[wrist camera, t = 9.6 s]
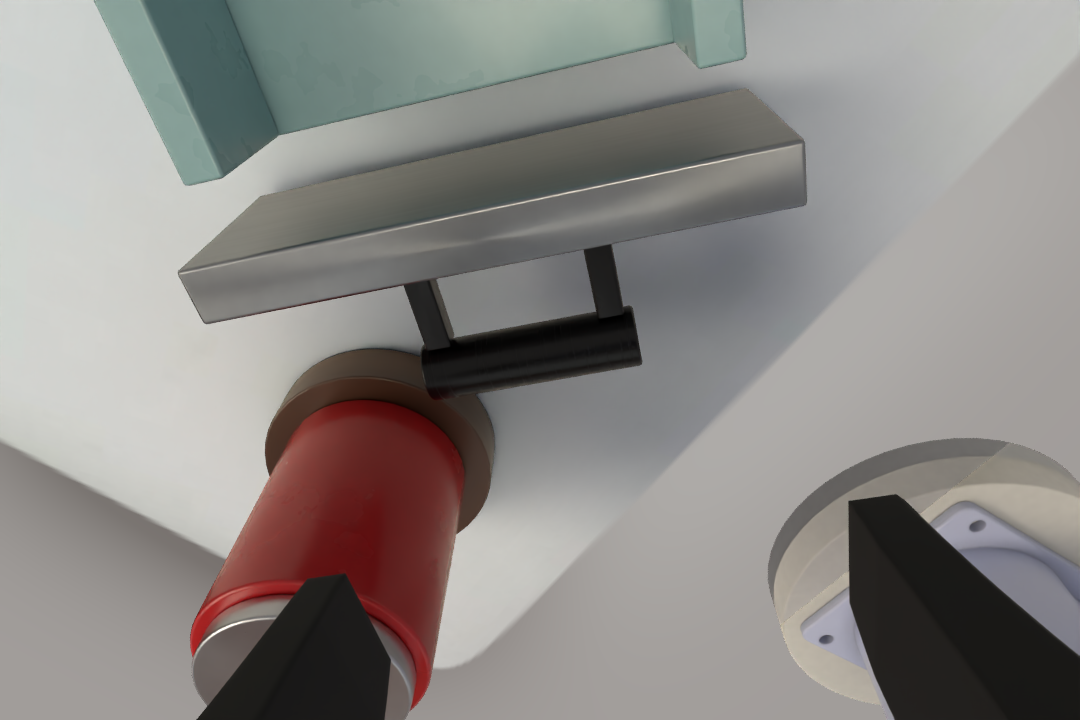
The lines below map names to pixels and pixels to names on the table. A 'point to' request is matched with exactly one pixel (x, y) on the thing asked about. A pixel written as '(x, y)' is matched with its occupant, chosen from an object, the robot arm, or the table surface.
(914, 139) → the table surface
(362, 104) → the drawer
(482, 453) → the stand
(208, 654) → the can
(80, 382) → the table surface
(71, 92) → the table surface
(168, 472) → the table surface
